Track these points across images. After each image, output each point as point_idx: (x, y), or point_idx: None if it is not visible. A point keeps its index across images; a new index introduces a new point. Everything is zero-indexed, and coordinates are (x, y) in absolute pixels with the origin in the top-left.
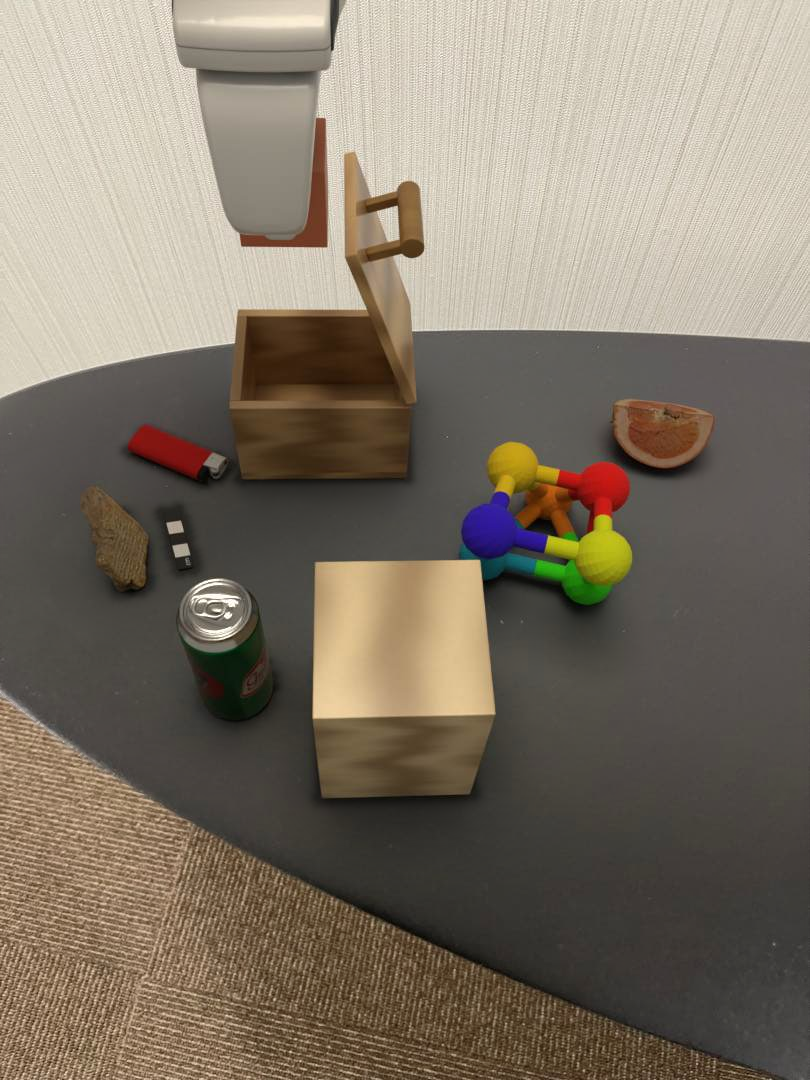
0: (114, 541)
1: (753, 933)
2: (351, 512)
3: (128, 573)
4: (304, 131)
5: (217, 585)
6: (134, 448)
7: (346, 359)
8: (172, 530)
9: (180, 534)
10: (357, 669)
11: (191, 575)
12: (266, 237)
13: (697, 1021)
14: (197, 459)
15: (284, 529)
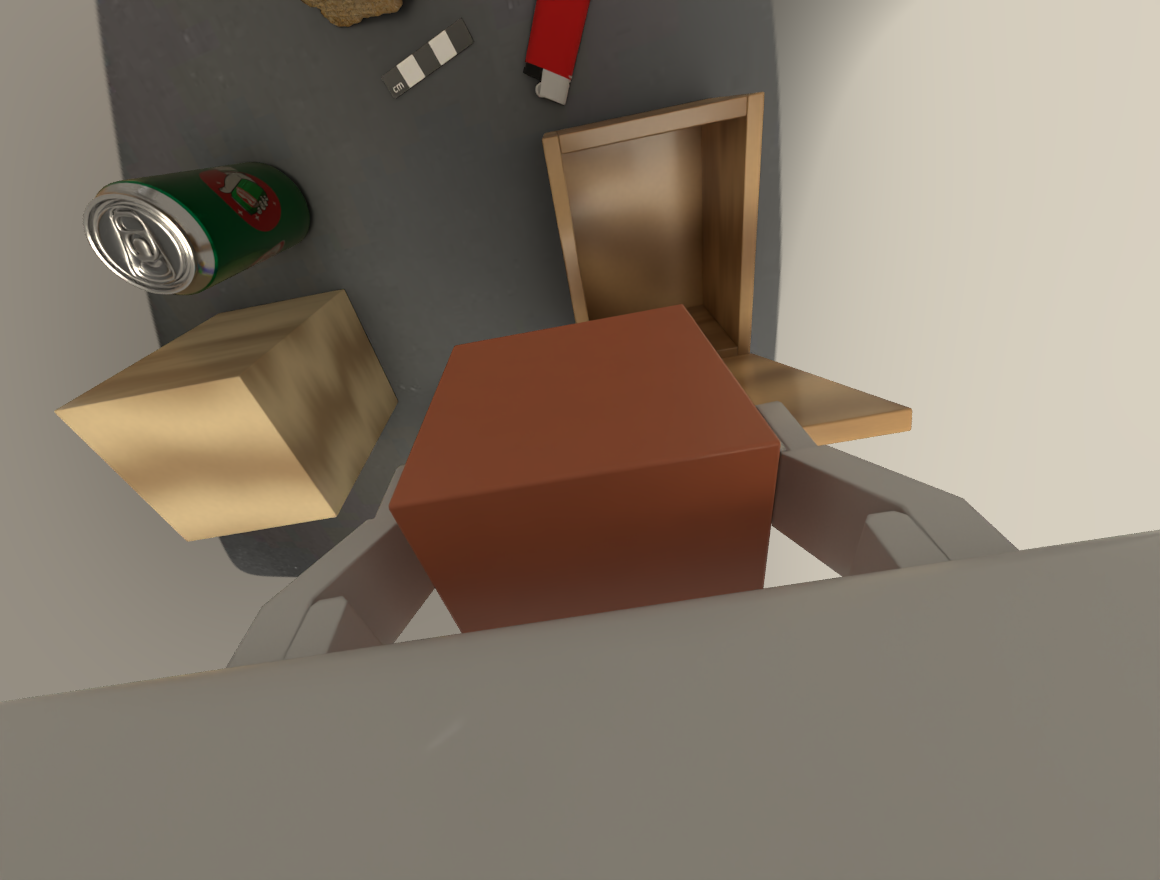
0: None
1: (295, 560)
2: (525, 283)
3: (314, 1)
4: None
5: (173, 240)
6: None
7: (715, 260)
8: (436, 45)
9: (434, 61)
10: (140, 440)
11: (384, 98)
12: (401, 465)
13: (230, 539)
14: (550, 55)
15: (484, 211)
